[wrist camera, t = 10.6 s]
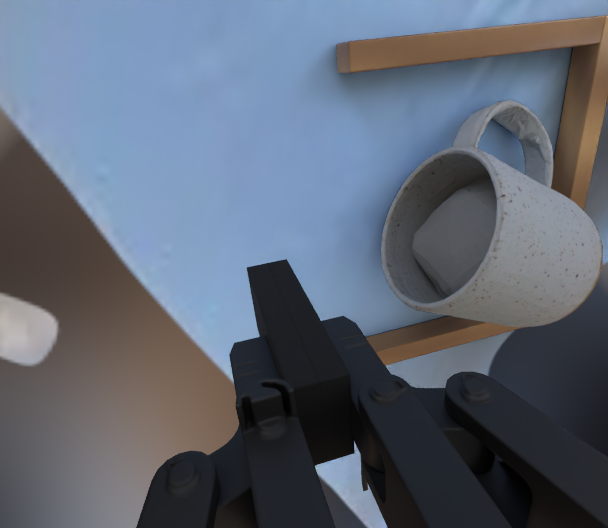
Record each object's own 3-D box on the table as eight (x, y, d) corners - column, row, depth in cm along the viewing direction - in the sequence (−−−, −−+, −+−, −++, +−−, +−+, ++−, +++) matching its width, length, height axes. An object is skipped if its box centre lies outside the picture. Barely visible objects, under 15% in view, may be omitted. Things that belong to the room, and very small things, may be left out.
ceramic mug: (470, 294, 26) (572, 367, 20) (362, 267, 23) (439, 342, 17) (554, 130, 23) (710, 149, 17) (443, 74, 20) (577, 69, 13)
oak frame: (335, 43, 18) (348, 41, 17) (596, 17, 21) (626, 13, 20) (353, 355, 26) (363, 371, 24) (543, 305, 29) (561, 317, 27)
